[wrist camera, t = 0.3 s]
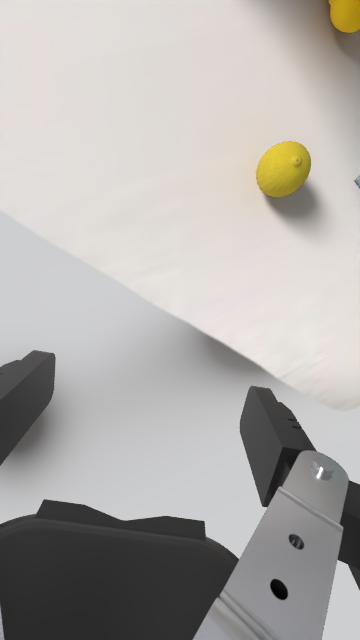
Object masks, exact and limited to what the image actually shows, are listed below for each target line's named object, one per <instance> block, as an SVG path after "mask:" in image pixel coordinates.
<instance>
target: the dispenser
mask: <svg viewBox="0 0 360 640" xmlns="http://www.w3.org/2000/svg"><path fill="white" fill-rule="evenodd" d="M355 182H356V184H357V185H358V186H359V188H360V176H359V177H358V178H357V179H356V180H355Z"/></svg>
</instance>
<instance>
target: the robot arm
mask: <svg viewBox="0 0 360 640" xmlns="http://www.w3.org/2000/svg"><path fill="white" fill-rule="evenodd" d="M54 376H55V355H54V353H48V352H42V351H36V350H34V351H32V352H31V353H29V354H28V355H27V356H26V357H24V358H23V359H22V360H16V361H13V362H10V363H8V364H5V365H3V366H2V367H0V465H1V464H2V463H3V461H4V460H5V459H6V457H7V456H8V455H9V454H10V452H11V451H12V450H13V448H14V447H15V446H16V445H17V444H18V442H19V441H20V440H21V438H22V437H23V436H24V434H25V433H26V432H27V431H28V429H29V428H30V427H31V426H32V424H33V423H34V422H35V420H36V419H37V418H38V417H39V415H40V414H41V413H42V412H43V410H44V409H45V408H46V406H47V405H48V404H49V402H50V400H51V398H52V395H53V390H54ZM240 434H241V437H242V440H243V444H244V447H245V450H246V454H247V457H248V460H249V464H250V467H251V470H252V474H253V477H254V480H255V484H256V487H257V490H258V494H259V497H260V500H261V504H262V506H263V507H268V508H267V510H266V511H265V513H264V515H263V517H262V519H261V521H260V523H259V524H258V526H257V528H256V530H255V532H254V534H253V536H252V537H251V539H250V541H249V543H248V545H247V547H246V548H245V550H244V552H243V554H242V556H241V558H240V559H238V558H237V557H236V556H235V555H234V554H233V553H232V552H230V551H229V550H228V549H227V548H225V547H224V546H222V545H221V544H219V543H217V542H216V541H214V540H212V539H210V538H208V537H206V535H205V523H204V521H199V520H192V519H184V518H177V517H170V516H161V517H153V518H146V519H137V520H129V521H124V520H119V519H117V518H114V517H112V516H110V515H107V514H105V513H102V512H100V511H98V510H95V509H93V508H91V507H88V506H86V505H81V504H74V503H67V502H60V501H52V500H45V499H44V500H43V502H42V504H41V506H40V508H39V510H38V512H37V514H33V515H27V516H23V517H19V518H16V519H13V520H10V521H7V522H5V523H2V524H0V640H322V635H323V630H324V625H325V619H326V614H327V609H328V604H329V598H330V594H331V589H332V584H333V579H334V574H335V569H336V564H337V560H339V561H342V562H344V563H346V564H348V565H349V568H350V570H351V572H352V575H353V576H354V579H355V581H356V583H357V585H358V587H359V590H360V484H357V483H354V482H352V481H349V479H348V475H347V473H346V472H345V470H344V469H343V468H342V467H341V466H340V465H339V464H338V463H337V462H336V461H334V460H333V459H331V458H330V457H328V456H326V455H324V454H322V453H319V452H317V451H316V449H315V448H314V446H313V445H312V443H311V441H310V440H309V438H308V437H307V435H306V434H305V432H304V430H303V429H302V427H301V426H300V424H299V422H297V419H296V418H295V416H294V415H293V413H292V412H291V410H290V409H288V408H287V407H286V406H285V405H284V404H283V403H281V402H278V401H277V400H276V398H275V396H274V394H273V393H272V391H271V389H269V388H263V387H257V386H251V387H250V388H249V391H248V394H247V398H246V401H245V405H244V408H243V412H242V415H241V420H240Z"/></svg>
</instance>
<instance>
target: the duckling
mask: <svg viewBox="0 0 360 640" xmlns="http://www.w3.org/2000/svg"><path fill="white" fill-rule="evenodd" d="M329 4H330V5H331V7H330V17H331V21H332V23H333V25H334V26H335V27H336V28H337V29H338V30H340V31H342V32H347V33H353V32H356V31H358V30H360V0H329Z"/></svg>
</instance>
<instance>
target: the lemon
mask: <svg viewBox="0 0 360 640" xmlns="http://www.w3.org/2000/svg"><path fill="white" fill-rule="evenodd" d="M310 167H311V158H310V155H309V152H308V151H307V149H306V148H305V147H304V146H303V145H302V144H300V143H298V142H292V141H288V142H282V143H280V144H277V145H275V146H273V147H272V148H271V149H269V150H268V151H267V152H266V153H265V154H264V155H263V157H262V158H261V160H260V162H259V164H258V167H257V171H256V179H257V184H258V186H259V188H260V189H261V190H262V191H263V193H265V194H267V195H268V196H272V197H283V196H287V195H289V194H291V193H293V192H295V191H296V190H297V189H298V188H299V187H300V186H301V185H302V184H303V183H304V182H305V180H306V179H307V177H308V174H309V172H310Z"/></svg>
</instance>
